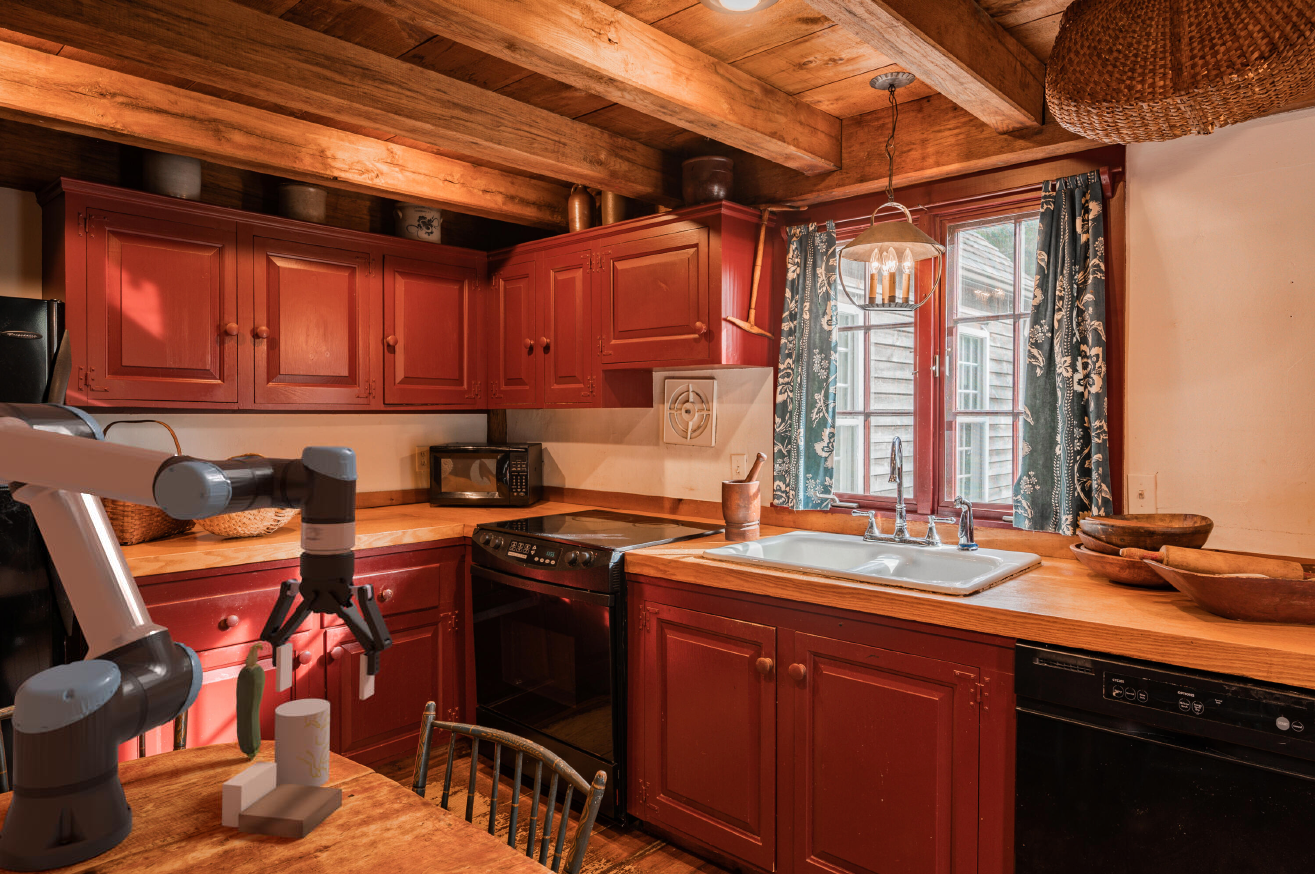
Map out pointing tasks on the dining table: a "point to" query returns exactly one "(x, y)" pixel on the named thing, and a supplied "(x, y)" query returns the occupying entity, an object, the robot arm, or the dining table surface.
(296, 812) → the board
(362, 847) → the dining table surface
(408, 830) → the dining table surface
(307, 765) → the grey cylinder
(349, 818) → the dining table surface
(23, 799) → the robot arm
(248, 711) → the vegetable
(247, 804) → the block
